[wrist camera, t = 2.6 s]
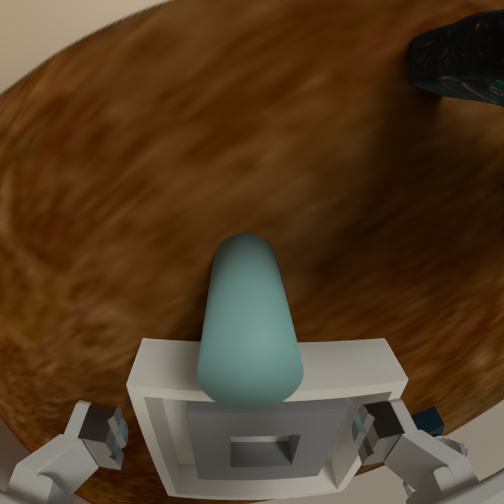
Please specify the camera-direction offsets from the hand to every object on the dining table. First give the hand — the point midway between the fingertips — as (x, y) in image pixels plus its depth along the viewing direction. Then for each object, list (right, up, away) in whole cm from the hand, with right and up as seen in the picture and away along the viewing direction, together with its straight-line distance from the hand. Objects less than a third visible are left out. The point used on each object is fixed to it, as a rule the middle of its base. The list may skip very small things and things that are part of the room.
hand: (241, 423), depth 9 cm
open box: (+1, -10, +17) cm, 20 cm away
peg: (0, +5, +11) cm, 12 cm away
